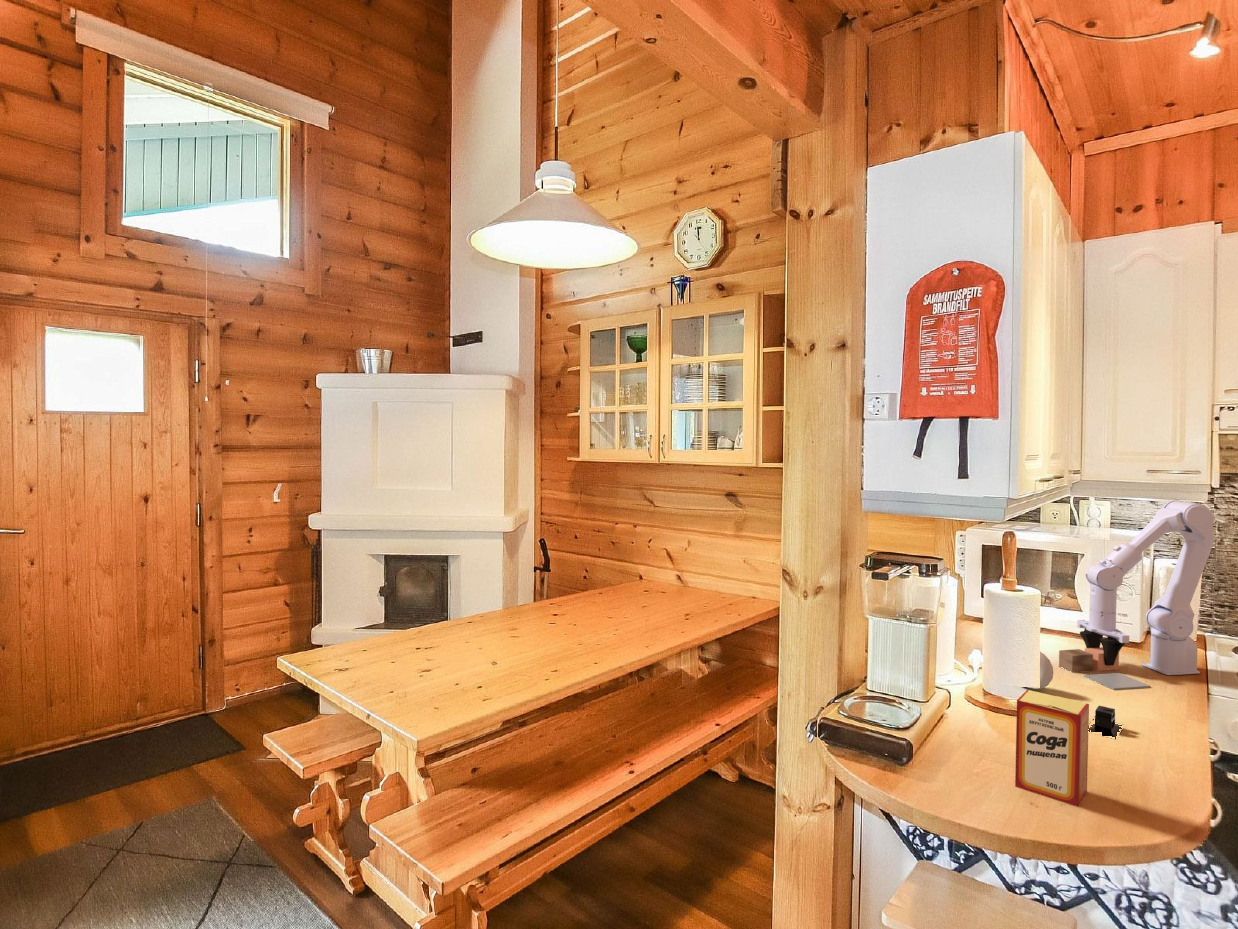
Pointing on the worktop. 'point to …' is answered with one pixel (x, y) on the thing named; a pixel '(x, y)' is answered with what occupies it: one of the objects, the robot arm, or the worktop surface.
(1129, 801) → the worktop surface
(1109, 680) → the baseplate
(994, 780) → the worktop surface
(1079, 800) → the baking soda box
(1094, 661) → the terracotta block
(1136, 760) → the worktop surface
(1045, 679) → the grey rounded piece
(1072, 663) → the walnut block
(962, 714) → the worktop surface
